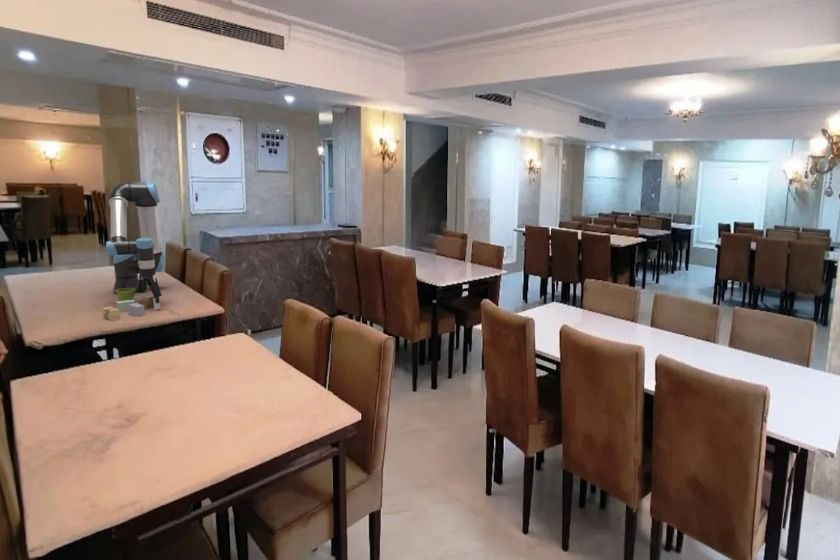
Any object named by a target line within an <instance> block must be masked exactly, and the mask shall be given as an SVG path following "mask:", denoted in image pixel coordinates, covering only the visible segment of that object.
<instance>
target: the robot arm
mask: <svg viewBox="0 0 840 560" xmlns="http://www.w3.org/2000/svg"><path fill="white" fill-rule="evenodd" d="M107 203H108V205H109V206H110V240H108V241H106V242H105V251H106V254H107V255H108V256H113V268H114V277H115V281H114V284H113V288H112V291H113V294H116V295H118V294H117V292H116V291H115V290H117V289H121V288H135V289H136V290H135V293H134V294H136V293H139V295H140V299H144V298H147V291H146V290H147V288H149V289H150V291H151V293H152V295H153V296H152V297H153V301H154V308H153V310H154V311H155V310H160V309H161V303H160V297H162V292H161V290H160V286H159V283H158V278H157V277H155V278H154V276H155V275H156V273H162V272H163V271H164V268H165V267H164V266H165V253H164V252H162V249H161V248H159V241H158V231H157V230H158V229H157V221H156V220H157V218H156V207H157V206H158V204H160V196H159V192H158V188H157V185H156V183H155V182H149V181H124V182H120V183H118V184H117V185H116V186H114V187H113V188H112V190H111V191H110V193H109V195H108V200H107ZM129 203H130V204H131V203H132V204H134V207H135V208H137V213H138V220H139V221H138V222H139V232H140V238H137V239H135V240H128V227H127V225H128V224H127V223H128V220H127V219H128V217H127V215H128V214H127V207H129Z"/></svg>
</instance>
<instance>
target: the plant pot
mask: <svg viewBox="0 0 840 560" xmlns="http://www.w3.org/2000/svg"><path fill="white" fill-rule="evenodd" d="M135 290H136V289H135V288H121V289H117V290H115V291H116V292H117V294H116V295H117V298H118V301H126V300H134V301H135V294H136V293H135Z"/></svg>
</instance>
